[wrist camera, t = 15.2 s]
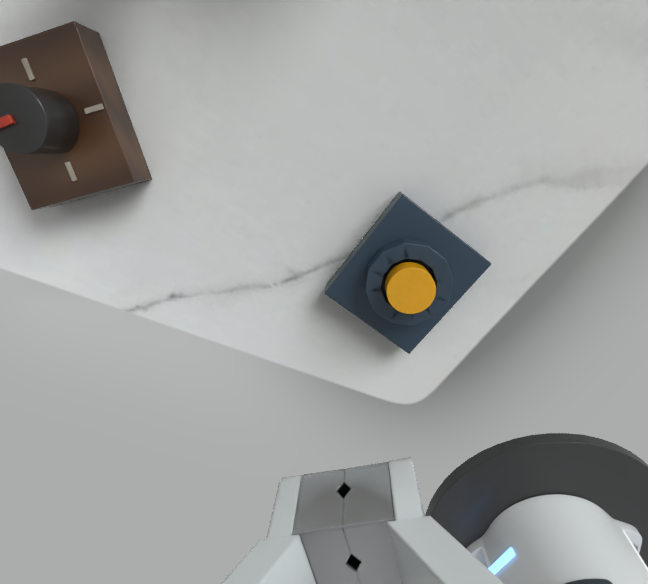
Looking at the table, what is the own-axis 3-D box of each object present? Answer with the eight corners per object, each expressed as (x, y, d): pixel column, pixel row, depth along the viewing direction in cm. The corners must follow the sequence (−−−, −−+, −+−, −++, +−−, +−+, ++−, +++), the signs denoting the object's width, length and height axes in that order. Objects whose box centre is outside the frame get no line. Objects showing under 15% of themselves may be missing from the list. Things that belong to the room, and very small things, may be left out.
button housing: (406, 343, 38) (411, 364, 34) (326, 285, 37) (322, 300, 33) (483, 257, 35) (499, 270, 31) (399, 191, 34) (405, 196, 30)
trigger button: (411, 314, 33) (414, 323, 32) (375, 288, 33) (376, 295, 31) (441, 280, 32) (446, 287, 31) (405, 252, 32) (408, 258, 30)
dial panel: (152, 179, 35) (133, 181, 32) (56, 205, 36) (30, 210, 33) (98, 32, 32) (72, 20, 29) (-4, 67, 33) (-40, 58, 30)
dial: (62, 80, 30) (22, 70, 26) (90, 143, 31) (56, 141, 28) (10, 101, 31) (-36, 94, 27) (40, 161, 32) (0, 162, 28)
